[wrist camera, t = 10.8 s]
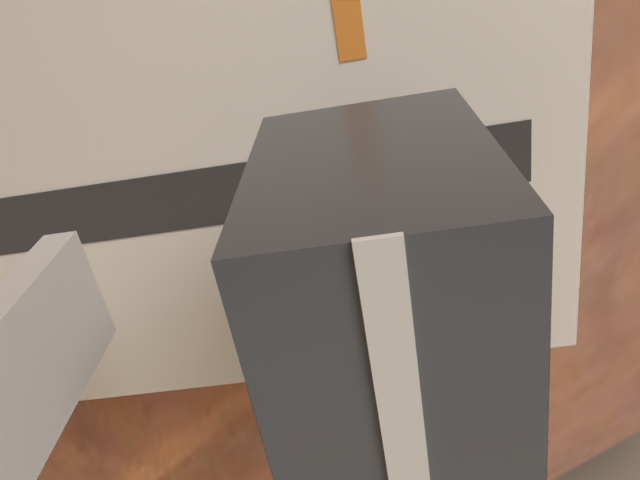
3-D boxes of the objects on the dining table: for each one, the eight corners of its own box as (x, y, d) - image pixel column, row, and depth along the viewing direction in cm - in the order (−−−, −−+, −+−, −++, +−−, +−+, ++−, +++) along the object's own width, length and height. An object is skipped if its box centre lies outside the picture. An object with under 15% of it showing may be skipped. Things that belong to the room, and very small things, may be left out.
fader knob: (275, 81, 15) (207, 262, 7) (432, 55, 15) (557, 215, 6) (314, 281, 18) (299, 576, 10) (447, 264, 17) (546, 557, 9)
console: (-317, 19, 18) (-433, 35, 15) (556, -147, 15) (603, -163, 13) (-94, 372, 24) (-147, 427, 22) (546, 294, 22) (576, 345, 19)
